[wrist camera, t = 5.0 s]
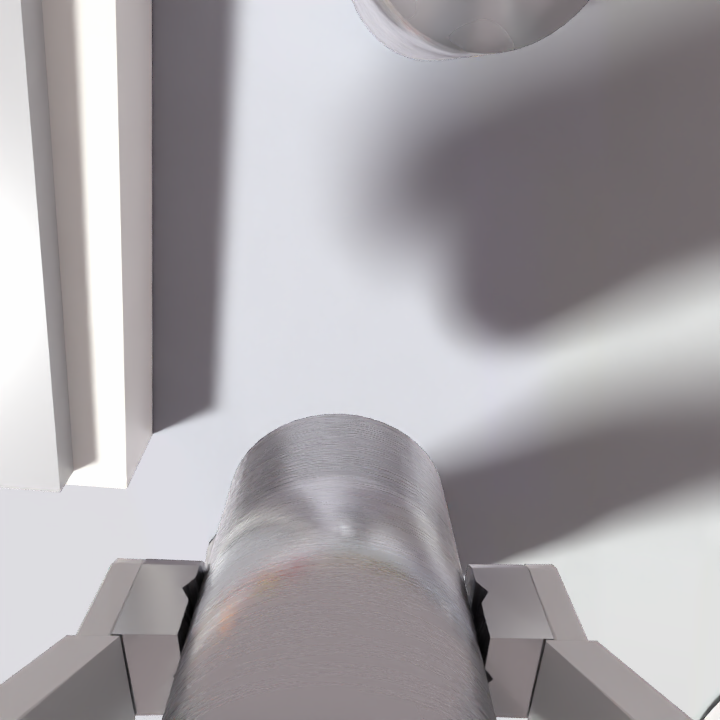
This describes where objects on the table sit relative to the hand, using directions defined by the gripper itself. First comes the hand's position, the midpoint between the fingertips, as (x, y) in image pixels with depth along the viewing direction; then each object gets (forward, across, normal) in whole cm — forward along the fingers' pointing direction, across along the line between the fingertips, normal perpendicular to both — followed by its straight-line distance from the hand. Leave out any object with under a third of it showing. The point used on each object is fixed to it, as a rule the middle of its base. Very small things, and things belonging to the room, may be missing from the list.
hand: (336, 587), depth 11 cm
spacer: (+2, 0, 0) cm, 2 cm away
